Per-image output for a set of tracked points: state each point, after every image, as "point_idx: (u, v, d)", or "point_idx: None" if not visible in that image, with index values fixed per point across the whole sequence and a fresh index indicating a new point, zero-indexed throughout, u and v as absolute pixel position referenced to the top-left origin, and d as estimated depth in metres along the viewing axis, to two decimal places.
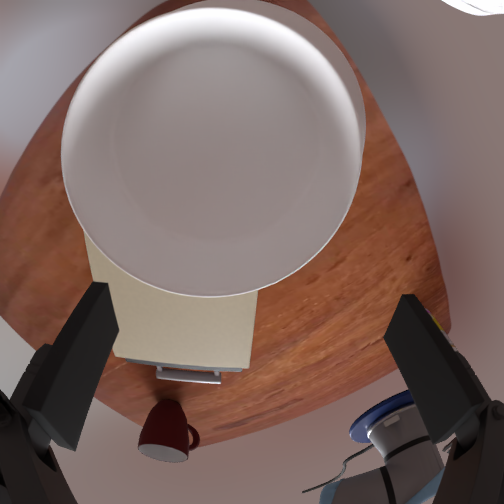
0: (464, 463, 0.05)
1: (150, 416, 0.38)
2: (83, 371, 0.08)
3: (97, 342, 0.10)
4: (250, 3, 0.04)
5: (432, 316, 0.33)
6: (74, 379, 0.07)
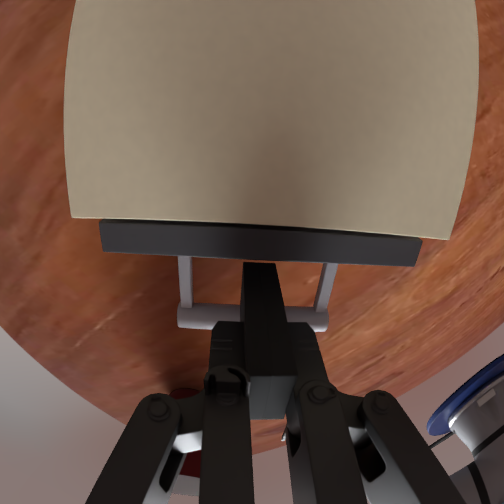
0: (300, 465, 0.06)
1: None
2: None
3: None
4: None
5: None
6: None
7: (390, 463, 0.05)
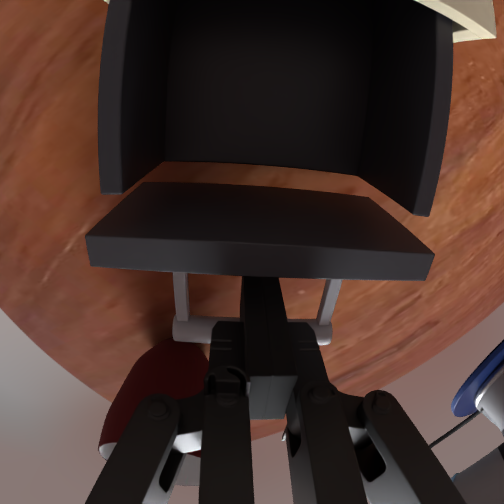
0: (300, 465, 0.06)
1: (133, 372, 0.16)
2: None
3: None
4: None
5: None
6: None
7: (390, 463, 0.05)
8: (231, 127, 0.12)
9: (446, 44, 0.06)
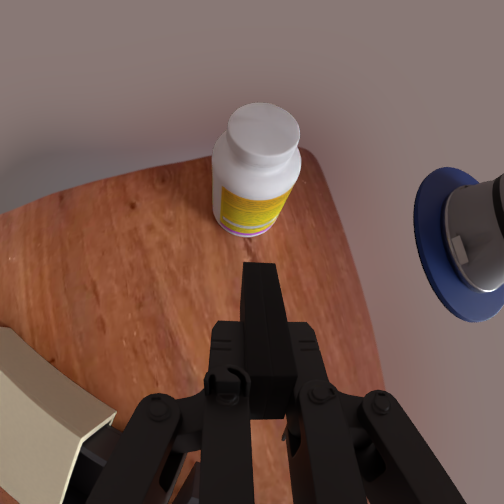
0: (300, 465, 0.06)
1: None
2: None
3: None
4: None
5: None
6: None
7: (390, 463, 0.05)
8: None
9: (94, 457, 0.15)
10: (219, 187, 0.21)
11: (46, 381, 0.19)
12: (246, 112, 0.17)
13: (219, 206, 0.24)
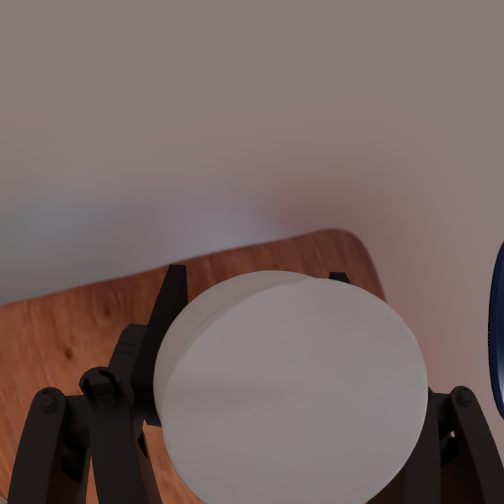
0: None
1: None
2: None
3: None
4: None
5: None
6: None
7: (463, 448, 0.05)
8: None
9: None
10: None
11: None
12: (231, 355, 0.04)
13: None
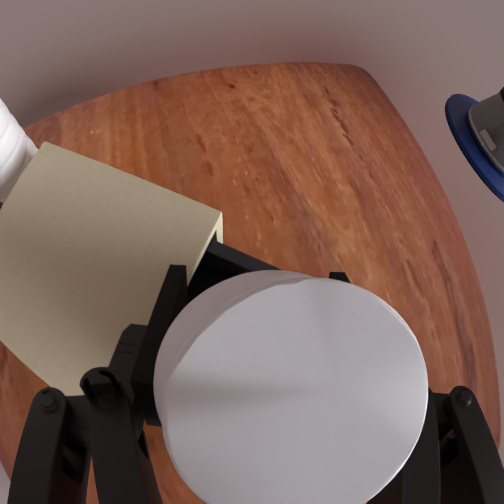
0: None
1: None
2: None
3: None
4: None
5: None
6: None
7: (463, 448, 0.05)
8: None
9: (229, 253, 0.16)
10: None
11: None
12: (232, 354, 0.04)
13: None
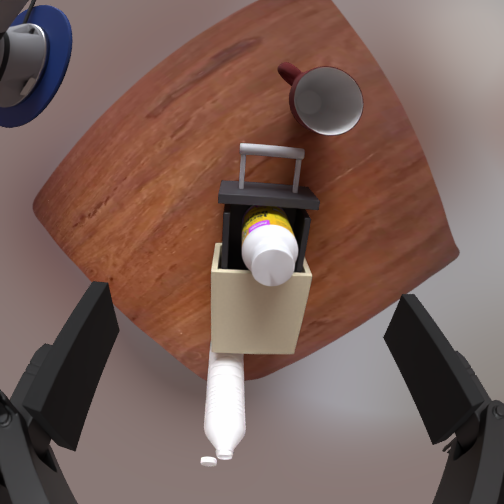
0: (464, 463, 0.05)
1: None
2: (83, 371, 0.08)
3: (97, 342, 0.10)
4: None
5: None
6: (74, 379, 0.07)
7: None
8: None
9: (224, 258, 0.38)
10: None
11: None
12: (266, 280, 0.31)
13: None
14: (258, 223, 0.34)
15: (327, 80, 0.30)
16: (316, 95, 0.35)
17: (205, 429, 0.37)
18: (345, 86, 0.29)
